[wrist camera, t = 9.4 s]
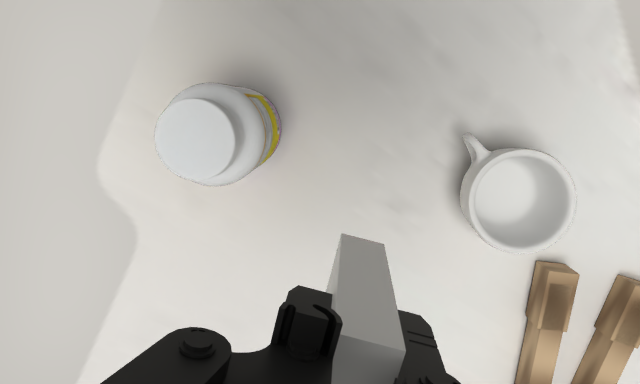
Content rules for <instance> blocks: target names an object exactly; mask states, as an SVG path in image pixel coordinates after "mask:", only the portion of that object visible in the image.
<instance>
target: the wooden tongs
mask: <svg viewBox="0 0 640 384" xmlns="http://www.w3.org/2000/svg"><path fill="white" fill-rule="evenodd" d="M594 326H595V327H596V328H597V329H596V331H595V333H594V335H593V338H592V340H591V342H590V344H589V346H588V348H587V350H586V353H585V355H584V357H583V359H582V361H581V363H580V366H579V368H578V370H577V372H576V374H575V376H574V378H573V381H572V383H571V384H617V382H618V380H619V378H620V376H621V374H622V372H623V370H624V368H625V366H626V363H627V361H628V359H629V357H630V355H631V353H632V351H633V349H634V348H638V347H639V345H640V281H637V280H634V279H631V278H628V277H624V276H621V275H617V278H616V280H615V282H614V284H613V286H612V288H611V291H610V293H609V295H608V297H607V299H606V301H605V304H604V306H603V308H602V310H601V312H600V314H599V317H598V319H597V321H596V323H595V325H594Z"/></svg>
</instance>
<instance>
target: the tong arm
mask: <svg viewBox="0 0 640 384" xmlns="http://www.w3.org/2000/svg"><path fill="white" fill-rule="evenodd" d="M578 279H579V274H578V273H577V272H575V271H574V270H572V269H571V268H570V267H568V266H567V265H565V264H559V263H550V262H541V261H536V266H535V271H534V276H533V281H532V286H531V291H530V296H529V301H528V305H527V310H526V316H527V318H528V323H527V328H526V332H525V337H524V342H523V347H522V352H521V357H520V362H519V366H518V371H517V376H516V381H515V384H551V383H552V378H553V374H554V369H555V365H556V360H557V356H558V351H559V347H560V342H561V338H562V333H563V332H567V328H568V324H569V319H570V315H571V310H572V306H573V301H574V297H575V293H576V288H577V284H578Z"/></svg>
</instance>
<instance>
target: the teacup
mask: <svg viewBox="0 0 640 384" xmlns="http://www.w3.org/2000/svg"><path fill="white" fill-rule="evenodd" d="M462 138H463V140H464V142H465V145H466V147H467V149H468V151H469V153H470V156H471V161H472V162H471V166H470V168H469V169H468V171H467V172H466V174H465V176H464V178H463V181H462V185H461V191H460V205H461V209H462V212H463V214H464V216H465V218H466V219H467V220H468V222H469V223H470V225H471V226H472V228H473V229H474V231H475V232H476V233H477V234H478V236H479V237H480V238H481V239H482V240H483V241H485V242H486V243H487V244H489V245H491V246H492V247H494V248H497V249H499V250H502V251H505V252H508V253H513V254H530V253H535V252H539V251H541V250H544V249H546V248H548V247H550V246H552V245H553V244H554V243H556V242H557V241H558V240H559V239H560V238H561V237H562V236H563V235H564V234H565V233H566V232H567V230H568V229H569V227H570V225H571V223H572V221H573V219H574V216H575V212H576V207H577V194H576V189H575V185H574V182H573V180H572V178H571V176H570V174H569V173H568V171H567V170H566V169H565V167H564V166H563V165H562V164H561V163H560V162H559V161H557V160H556V159H555V158H553V157H552V156H550V155H548V154H546V153H544V152H541V151H538V150H532V149H519V148H504V149H498V150H495V151H488V150H487V149H486V148H485V147H484V146H483V145H482V144H481V143H480V142H479V141H478V140H477V139H476V138H475V137H474V136H473V135H472V134H470V133H466V134H465V135H463V137H462Z"/></svg>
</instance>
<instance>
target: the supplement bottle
mask: <svg viewBox="0 0 640 384" xmlns="http://www.w3.org/2000/svg"><path fill="white" fill-rule="evenodd" d="M280 135H281V124H280V119H279V116H278V113H277V111H276V109H275V107H274V106H273V104H272V103H271V102H270V101H269V100H268V99H267V98H266V97H265V96H263V95H262V94H260V93H259V92H257V91H254V90H251V89H248V88H242V87H236V86H230V85H224V84H219V83H202V84H197V85H194V86H191V87H189V88H187V89H185V90H183V91H182V92H180V93H179V94H178V95H177V96H176V97H175V98H174V99H173V100H172V101H171V102H170V104H169V105H168V107H167V108H166V109H165V110H164V111H163V113H162V114H161V115H160V117H159V119H158V121H157V124H156V127H155V134H154V140H155V147H156V150H157V153H158V155H159V157H160V159H161V161H162V162H163V164H164V165H165V166H166V167H167V168H168V169H169V170H170V171H171V172H173V173H174V174H176V175H177V176H179V177H182V178H184V179H188V180H191V181H193V182H195V183H198V184H201V185H205V186H224V185H228V184H231V183H234V182H236V181H238V180H240V179H242V178H243V177H245V176H246V175H247V174H249V173H250V172H251V171H253V170H254V169H255V168H257V167H258V166H259V165H261V164H262V163H263V162H265V161H266V160H267V159H268V158H269V157H270V156H271V155H272V154H273V153H274V151H275V149H276V148H277V146H278V143H279V140H280Z"/></svg>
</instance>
